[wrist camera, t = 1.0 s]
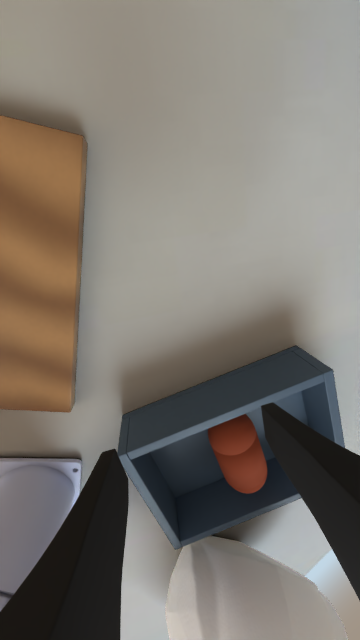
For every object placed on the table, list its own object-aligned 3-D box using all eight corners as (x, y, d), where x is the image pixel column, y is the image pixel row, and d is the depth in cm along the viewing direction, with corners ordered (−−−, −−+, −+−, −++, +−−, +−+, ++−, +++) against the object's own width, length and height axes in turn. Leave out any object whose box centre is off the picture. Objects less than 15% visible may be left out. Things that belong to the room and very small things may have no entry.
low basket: (170, 499, 26) (175, 550, 22) (122, 415, 22) (116, 457, 17) (316, 439, 26) (350, 478, 22) (296, 345, 22) (333, 369, 18)
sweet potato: (259, 454, 25) (280, 494, 21) (222, 469, 25) (237, 511, 21) (238, 392, 22) (258, 424, 18) (197, 408, 22) (208, 444, 18)
